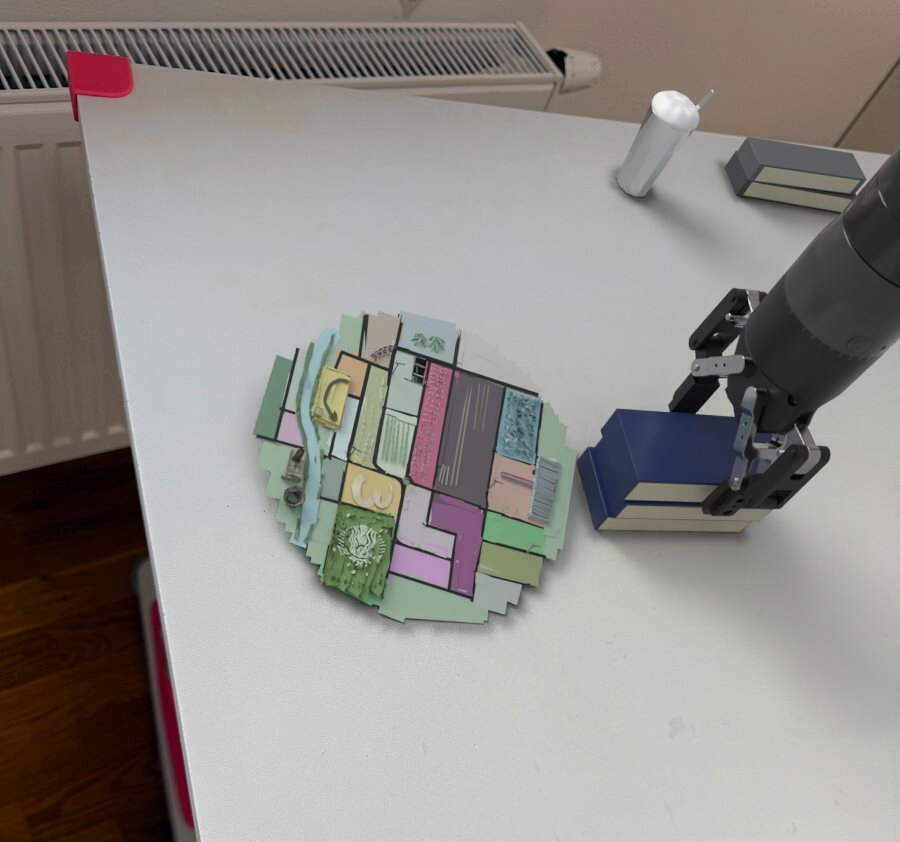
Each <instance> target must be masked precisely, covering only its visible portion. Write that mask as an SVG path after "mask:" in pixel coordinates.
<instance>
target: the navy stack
mask: <svg viewBox="0 0 900 842" xmlns="http://www.w3.org/2000/svg"><path fill="white" fill-rule="evenodd" d="M576 465H577V469H578V472H579V476H580V481H581V483H582V487H583V492H584V495H585V499H586V503H587V506H588V511H589V514H590V517H591V521H592V526H593V529H594V530H597V531H598V530H599V531H600V530H601V531H602V530H603V531H607V530H608V531H656V532H657V531H659V532H663V531H664V532H709V533H710V532H711V533H712V532H713V533H715V532H716V533H722V532H723V533H740V532H742V531H743V530H744V529H745V528H746V527H747V526H748V525H750V524H751V523H752V522H761V521H762V520H763V519H765V517H767V516H768V515H769V514H770V513H771V512H772V511H774V509H750V508H746V507H745V506H743V507H742V508H741V509H740V510H738V511H737V512H736V513H735V514H734V515H733V516H729V517H724V516H711V515H706V514H703V512H702V509H701V505H700V503H688V502H655V501H621V500H620V497H619V494H618V490H617V487H616V483H615V480H614V476H613V473H612V469H611V466H610V462H609V459H608V455H607V452H606V448H605V445H604V441H603V438H602V437H601V438H600V440H599V441H598V442H597V443H596V445H595V446H587V447H586V448H585V450H583V452H582V454H581V455H580V456H579V457H578V459H576Z"/></svg>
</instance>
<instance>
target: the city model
mask: <svg viewBox="0 0 900 842" xmlns="http://www.w3.org/2000/svg"><path fill="white" fill-rule="evenodd" d="M456 324H457V323H454V322H449V321H446V320H442V319H438V318H433V317H430V316H425V315H421V314H416V313H412V312H407V311H404V310H400V311H399V313H398V314H397V316H396V315H393V314H390V313H387V312H384V311H381V310H378V311H377V315H374V314H371V313H369V312H366V311H364V310H361V312H360V315H358V316H355V317H354V316H352V315H348V314H345V313H341V315H340V321H339V326H338V327H339V328H338V327H337V326H334V327H331V328H328V327H326V328H324V329H323V330H322V331H321V332H320V334H319V335H318V336H317V338H316V340H315V341H314V342H313V341H310V342H309V344H308V348H307V350H306V349H304V348H301V347H298V346H297V347H296V348H295V350H294V351H295V352H294V356H293V359H289V358H287V357H284V356H281V355H279V354H276V356H275V359H274V361H273V365H272V369H271V372H270V375H269V378H268V382H267V385H266V389H265V391H264V395H263V398H262V401H261V405H260V408H259V411H258V414H257V418H256V421H255V424H254V428H253V430H252V436H254V439H256V440H260V441H262V442H263V443H262V446H261V449H260V452H259V456H258V460H257V462H256V465H255V467H256V468H258V469H261V470H264V471H267V472H270V477H269V479H268V482H267V486H266V488H265V490H266V491H267V492H266V496H267V497H270V498H274V499H278V500H279V503H278V507H277V511H276V516H275V518H274V519H275V521H277V522H279V523H284V524H285V525H284V526H285V527H284V532H288V533H291V535H290V539H289V541H288V542H289V543H291V544H293V545H296V546H298V547H301V548H304V549H306V548H307V549H306V554H305V556H306V557H309V558H310V557H311V558H310V559H311V560H310V564H316V565H320V566H319V569H318V571H317V575H318V576H319V577H320V578H319V581H320V585H322V584H323V583H325V585H326V586H331V587H333V588H335V589H337V590H338V591H341V592H343V593H345V594H347V595H349V596H350V597H352V598H355V599H356V600H359V601H360V602H363V603H364V604H367V605H369V606H370V607H372V606H373V605H375V606H379V607H378V611H377V613H379V614H380V615H383V616H385V617H389V618H391V619H393V620H396V621H398V622H401V623H403V624H404V622H405V619H414V620H415V619H416V620H417V619H418V620H427V621H428V620H430V621H443V622H456V623H457V622H458V623H468V624H469V623H470V624H485V622H488V619H489V611H490V612H495V613H498V614H501V615H506V612H507V605H508V603H511V604H513V605H514V606H517V605H518V602H519V598H520V595H521V592H522V587H523V586H526V587H531V586H533V587H539V580H540V575H541V571H542V570H543V565H544V563H543V562H544V559H549V560H552V561H554V562H556V561H557V558H558V557H557V555H558V551H559V550H560V551H563V550H564V545H565V539H566V538H565V537H566V532H567V531H566V530H567V523H568V517H569V510H570V504H571V502H570V501H571V496H572V489H573V483H574V476H575V469H576V463H577V455H578V450H576V449H573V448H570V447H568V446H565V441H566V438H567V437H566V436H567V433H568V428H569V426H568V425H566V424H564V423H562V422H560V416H559V415H558V414H555V411H554V410H553V407H552V406H551V403H550V401H546V402H545V401H544V400H543V399H542V396H541V390H542V388H541V387H539V386H537V385H536V384H535V383H534V382H533V381H532V380H531V374H532V373H531V372H529V371H524V370H520V369H519V368H518V367H517V366H515V361H513V360H510V359H508V358H507V357H506V356H504V354H502V353H501V352H500V344H496V343H493V342H488V341H485V340H483V335H482V334H479V333H476V332H471V331H467V330H466V329H463V328H459V327H458V328H457V329H456V327H457V325H456ZM242 454H245V453H242ZM271 556H272V557H274V556H273V555H271Z"/></svg>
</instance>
